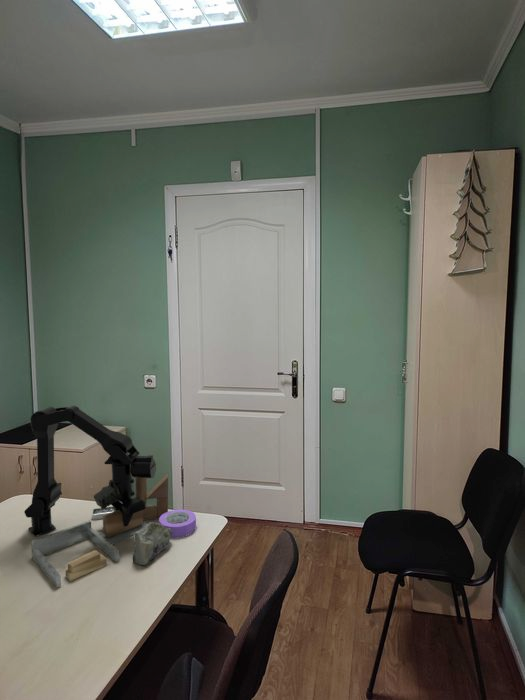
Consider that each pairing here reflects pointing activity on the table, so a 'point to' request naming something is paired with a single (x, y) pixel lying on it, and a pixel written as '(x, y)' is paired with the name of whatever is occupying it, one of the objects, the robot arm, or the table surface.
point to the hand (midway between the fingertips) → (123, 524)
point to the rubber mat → (122, 534)
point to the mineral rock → (150, 542)
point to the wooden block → (153, 497)
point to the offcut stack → (85, 565)
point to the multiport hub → (101, 512)
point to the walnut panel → (120, 522)
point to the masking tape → (179, 516)
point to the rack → (66, 539)
